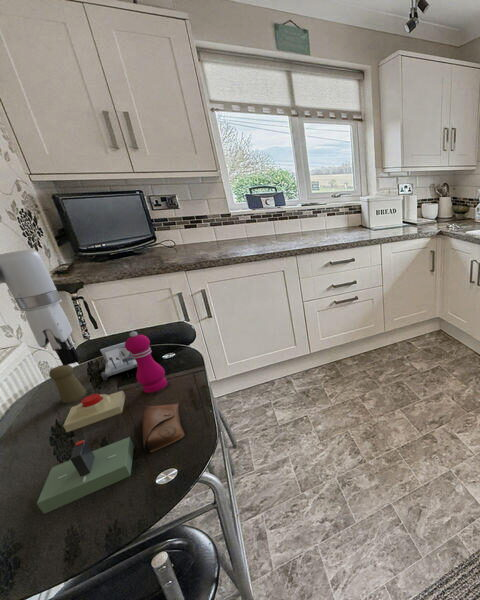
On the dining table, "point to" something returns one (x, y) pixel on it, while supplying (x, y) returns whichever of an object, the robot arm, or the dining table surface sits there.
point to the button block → (95, 411)
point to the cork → (67, 383)
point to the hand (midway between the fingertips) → (71, 362)
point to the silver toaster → (116, 360)
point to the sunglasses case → (161, 426)
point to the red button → (91, 400)
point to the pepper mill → (145, 363)
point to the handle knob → (82, 457)
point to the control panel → (87, 476)
